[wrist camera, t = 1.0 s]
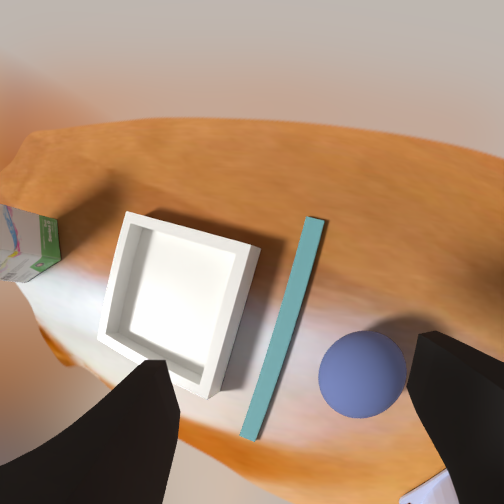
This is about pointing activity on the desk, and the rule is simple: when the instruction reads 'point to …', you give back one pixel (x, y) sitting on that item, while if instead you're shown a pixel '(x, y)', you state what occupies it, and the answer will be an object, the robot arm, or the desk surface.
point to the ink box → (26, 244)
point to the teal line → (283, 327)
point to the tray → (177, 299)
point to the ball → (362, 374)
